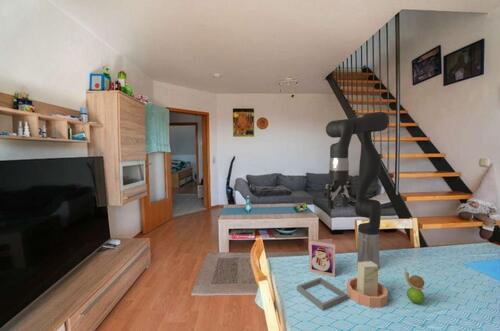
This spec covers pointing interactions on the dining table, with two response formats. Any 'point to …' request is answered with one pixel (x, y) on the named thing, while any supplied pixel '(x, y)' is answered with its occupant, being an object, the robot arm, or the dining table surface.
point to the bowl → (364, 299)
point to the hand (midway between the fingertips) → (338, 207)
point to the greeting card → (322, 257)
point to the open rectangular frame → (318, 303)
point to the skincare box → (367, 278)
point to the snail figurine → (415, 288)
